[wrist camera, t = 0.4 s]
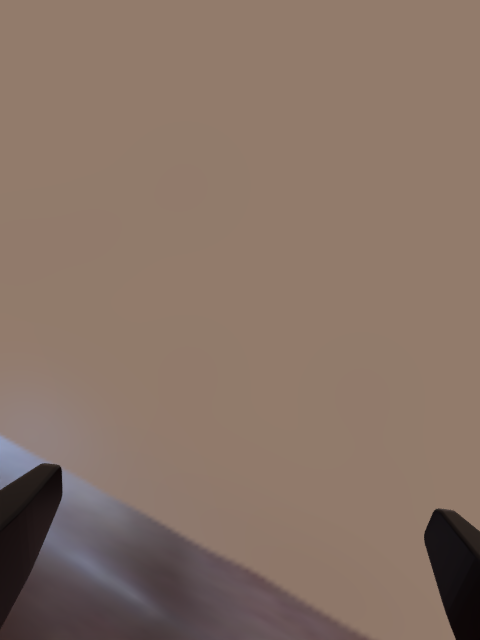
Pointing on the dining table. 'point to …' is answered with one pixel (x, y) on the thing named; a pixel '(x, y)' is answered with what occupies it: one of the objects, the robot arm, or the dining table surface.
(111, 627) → the dining table surface
